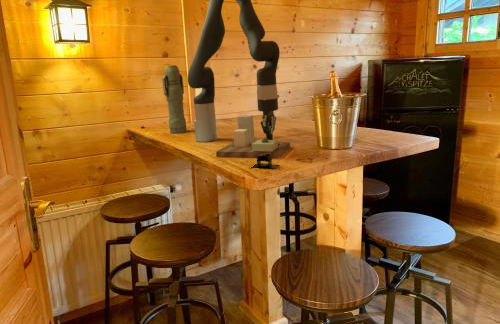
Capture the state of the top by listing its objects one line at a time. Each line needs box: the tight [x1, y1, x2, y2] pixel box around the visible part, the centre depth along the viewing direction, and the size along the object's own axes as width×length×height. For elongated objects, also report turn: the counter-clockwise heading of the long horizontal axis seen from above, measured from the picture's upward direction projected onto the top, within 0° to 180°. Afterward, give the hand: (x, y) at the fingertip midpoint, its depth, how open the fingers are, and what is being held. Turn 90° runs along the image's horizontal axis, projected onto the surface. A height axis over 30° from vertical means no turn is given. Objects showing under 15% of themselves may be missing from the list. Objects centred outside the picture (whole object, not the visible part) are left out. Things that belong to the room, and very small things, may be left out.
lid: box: [252, 137, 279, 151], centre depth 142 cm, size 8×8×4 cm
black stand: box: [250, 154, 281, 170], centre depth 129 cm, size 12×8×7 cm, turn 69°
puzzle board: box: [215, 141, 291, 159], centre depth 150 cm, size 24×18×2 cm
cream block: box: [232, 128, 249, 147], centre depth 153 cm, size 4×4×8 cm
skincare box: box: [236, 115, 256, 142], centre depth 167 cm, size 6×4×12 cm
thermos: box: [161, 64, 187, 135], centre depth 206 cm, size 9×12×35 cm
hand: (269, 143), depth 147 cm, fingers closed
